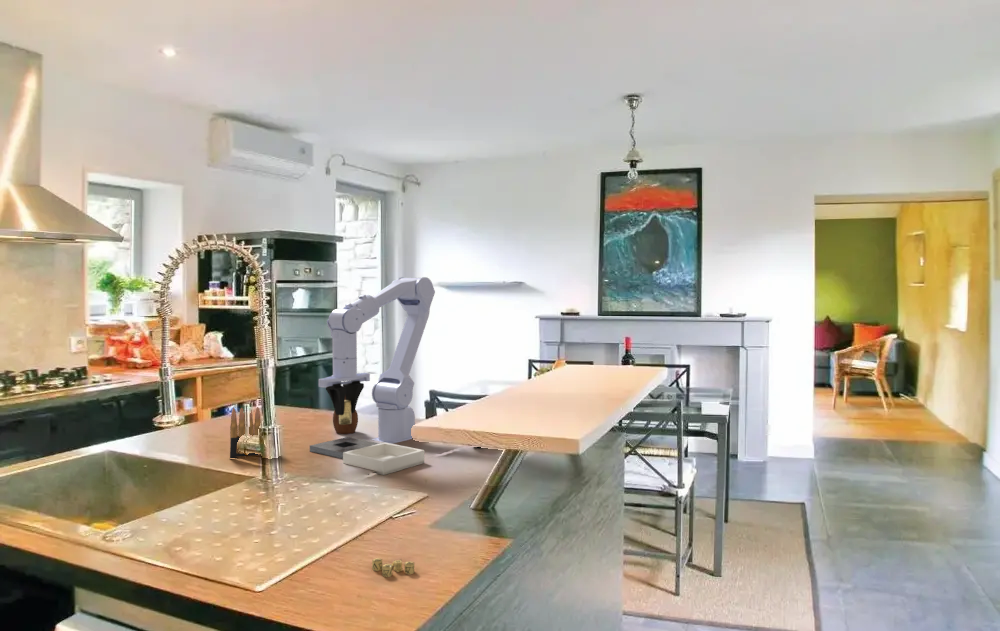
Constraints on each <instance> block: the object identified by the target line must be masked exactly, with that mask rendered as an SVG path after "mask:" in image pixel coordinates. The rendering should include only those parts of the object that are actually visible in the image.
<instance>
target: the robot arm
mask: <svg viewBox="0 0 1000 631" xmlns="http://www.w3.org/2000/svg"><path fill="white" fill-rule="evenodd" d="M435 294H436V290H435V288H434V284H433V282H432V280H431V279H430V278H428V276H427V277H426V276H423V277H404V276H401V277H398V278H397V279H394V280H392V281H391V282H390V284H388V285H387V286H385V287H384V288H382V289H381V290H380V291H378V292H377V293H375V294H374V295H369V294H360V295H359V296H358V299H356V300H354V301H353V302H351V303H349V302H348V303H346V304H345V306H344V307H343V308H336V309H333V310H332V311H331V312H330V314H329V316H328V319H327V320H326V324H327V327H328V329H329V331H330V337H331V339H332V375H330V376H326V377H323V378H318V388H325V391H326V392H327V394H328V396H329V398H330V400H331V401H332V402H331V403H332V405H333V408H334V410H335V413H336V415H343V414H344V400H345V396H346V400H351V413H354V412H355V410H356V408H357V403H358V401H359V397H360V395H361V393H362V391H363V389H364V388H365V384H364V383H363V382H370V381H371V377H370V376H371V374H370V372H359V373H358V366H357V365H358V357H357V353H358V352H357V350H358V348H357V344H358V343H357V333H358V332H359V331H360V330H361V328H362V325H363V324H364V323H366V322H367V321H369V320H371V319H372V318H375V317H376V316H377V315H378V314H379V312H380V308H382V307H383V306H384V307H385V305H387V304H390V303H391V302H394V301H395V300H397V301H398V303H399V304H400V305H401V307H402V309H403V310H404V311H406V314H407V317H406V319H405V323H404V326H403V329H402V331H401V334H400V337H399V339H398V342H397V345H396V347H395V350H394V354H393V356H392V360H391V362H390V365H389V368H388V369H386V370H384V371H383V372H382V373H381V374H379V378H378V379H377V381H376V382H375V383H374V384H373V387H372V389H371V398H372V400H373V402H374V403H375V404H376V408H377V412H378V413H377V415H378V418H377V419H378V420H377V423H378V433H377V434H378V436H377V437H375V438H371V440H372V441H375V442H379V443H384V442H386V443H391V444H397V443H401V442H405V441H409V440H412V436H411V428H412V426H413V425H415V426H416V415H415V411H414V409H413V408H412V406H410V403H411V402H412V400H413V390H414V385H415V381H414V380H413V378H411V376H410V373H411V370H412V367H413V364H414V361H415V359H416V355H417V352H418V349H419V346H420V343H421V341H422V338H423V334H424V332H425V330H426V326H427V322H428V321H429V320H428V319H429V317H430V309H431V306H432V303H433V299H434V298H435V297H434V296H435ZM344 381H345V382H344Z"/></svg>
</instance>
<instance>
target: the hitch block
mask: <svg viewBox="0 0 1000 631" xmlns="http://www.w3.org/2000/svg"><path fill="white" fill-rule="evenodd" d="M380 443H381V442H376V441H375V442H374V441H370V440H364V439H359V438H354V437H350V436H346V437H342V438H337V439H333V440H328V441H324V442H320V443H319V442H318V443H314V444H309V452H311V453H315V454H319V455H324V456H328V457H332V458H337V459H340V460H343V452H348V451H352V450H356V449H360V448H364V447H368V446H372V445H376V444H380Z"/></svg>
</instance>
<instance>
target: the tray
mask: <svg viewBox="0 0 1000 631" xmlns="http://www.w3.org/2000/svg"><path fill="white" fill-rule="evenodd" d="M379 443H380V444H376V445H372V446H368V447H364V448H360V449H356V450H352V451H348V452H343V459H342V463H343V464H346V465H350V466H354V467H358V468H361V469H362V468H363V469H367V470H371V471H373V472H372V473H373V474H376V475H377V474H378V475H381V476H386V475H389V474H392V473H395V472H399V471H402V470H406V469H409V468H412V467H413V468H414V467H415V466H419V465H423V464H425V450H424V449H420V448H416V447H415V448H414V447H410V446H406V445H399V444H397V443H394V444H391V443H386V442H379Z"/></svg>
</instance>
